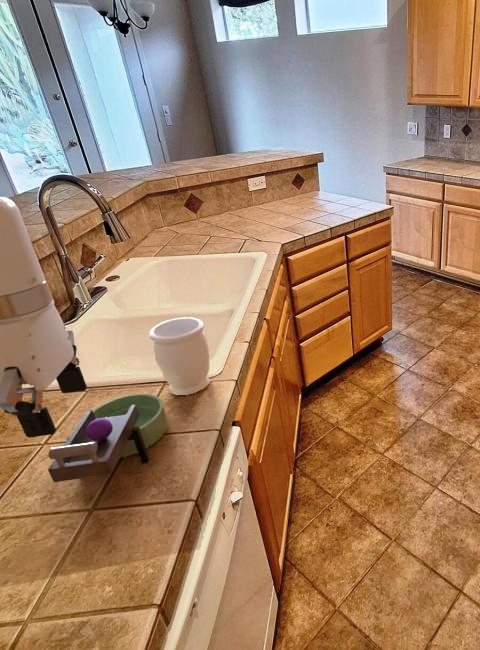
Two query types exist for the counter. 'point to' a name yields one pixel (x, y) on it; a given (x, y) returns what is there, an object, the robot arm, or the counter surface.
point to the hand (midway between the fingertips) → (59, 411)
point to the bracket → (138, 444)
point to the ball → (99, 429)
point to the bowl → (149, 418)
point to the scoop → (91, 449)
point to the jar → (182, 354)
